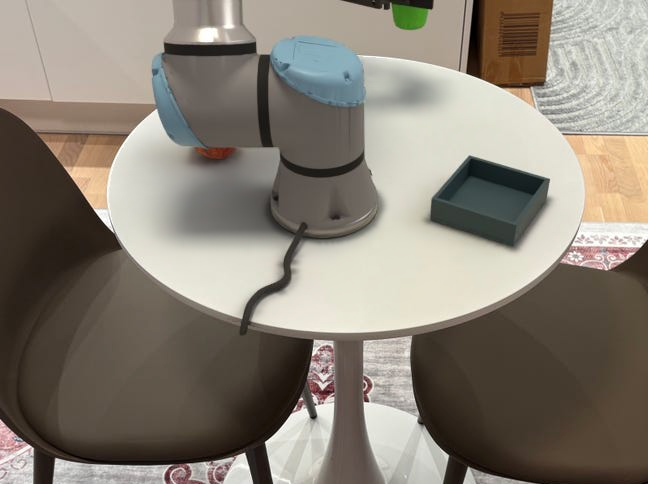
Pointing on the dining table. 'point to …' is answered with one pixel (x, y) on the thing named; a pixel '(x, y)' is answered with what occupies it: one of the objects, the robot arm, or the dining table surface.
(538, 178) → the holder
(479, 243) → the dining table surface
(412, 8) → the cup
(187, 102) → the robot arm
